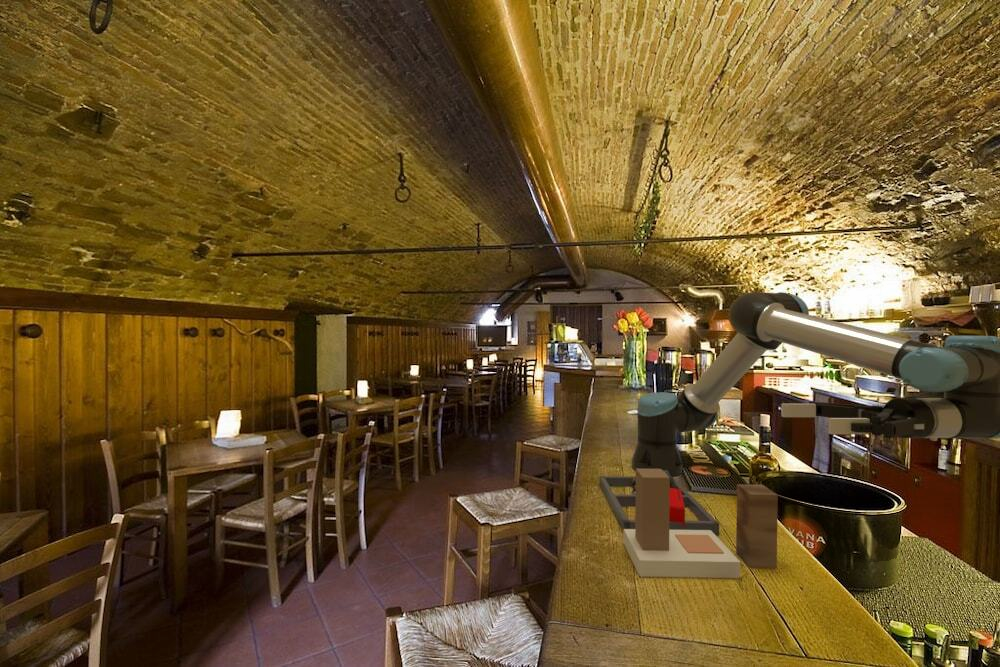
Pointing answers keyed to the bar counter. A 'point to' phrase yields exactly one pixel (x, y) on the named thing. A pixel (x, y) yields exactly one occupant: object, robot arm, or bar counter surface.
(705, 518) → the charcoal tray rim
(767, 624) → the bar counter surface
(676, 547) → the base board
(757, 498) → the walnut pillar
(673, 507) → the french fries container
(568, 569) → the bar counter surface
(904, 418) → the robot arm
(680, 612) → the bar counter surface
